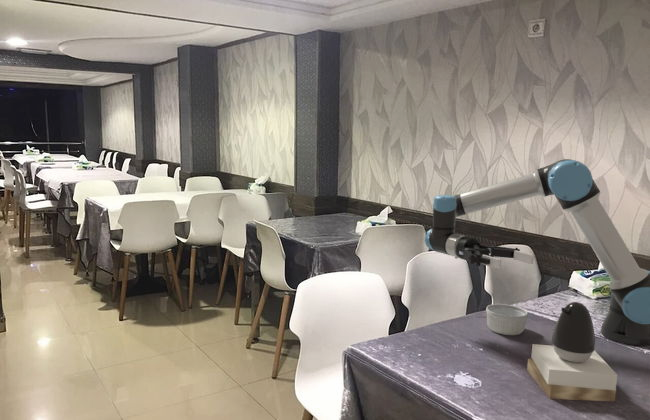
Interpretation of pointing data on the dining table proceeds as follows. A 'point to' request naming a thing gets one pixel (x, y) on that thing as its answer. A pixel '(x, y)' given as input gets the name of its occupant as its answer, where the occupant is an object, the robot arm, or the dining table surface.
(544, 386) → the tower base
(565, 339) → the pump dispenser
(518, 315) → the ramekin
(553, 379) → the tower top
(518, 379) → the dining table surface
